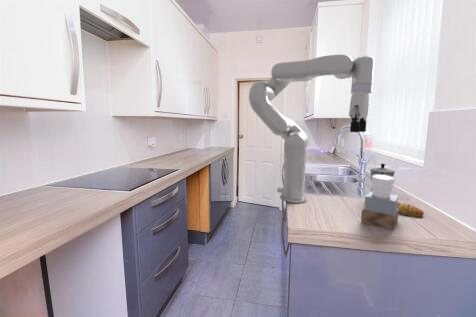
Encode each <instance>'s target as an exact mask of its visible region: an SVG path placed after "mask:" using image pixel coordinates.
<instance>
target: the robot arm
mask: <svg viewBox="0 0 476 317" xmlns="http://www.w3.org/2000/svg"><path fill="white" fill-rule="evenodd" d="M374 68H375V58H374V57H373V56H371V55H363V56H358V57H356V58H355V59H354V60H353V59H352V57H351V56H349V55H348V54H331V55H324V56H318V57H314V58H310V59H307V60H295V61H285V62H278V63H276V64H274V65H273V66H272V68H271V71H270V72H271V73H270V74H271V78H270V79H269V80H268V81H267V82H266V81H262V80H258V81H256V82H253V84H252V85H251V87H250V88H249V92H248V101H249V105H250V107H251V109H252V110H253V112H254V113H255V114H256V116H257V117H259V119H260V120H261V121H262V122H263V123H264V124H265V125H266V126H267V128H268V129H269V130H270V131H271V133H273V134H274V136H275V135H276V136H279V137H281V138H282V139H283V140H284V143H283V151H284V152H283V153H284V154H283V155H284V159H283V160H284V163H283V164H284V168H283V169H284V170H283V171H284V172H283V188H282V187H277V189H276V192H277V193H280V195H279V198H280V200H282V201H283V202H287V203H293V204H302V203H305V202H307V201H308V197H307V196H306V195H305V181H306V180H305V178H306V155H307V154H306V150H307V147H308V146H309V144H310V143H309V142H310V141H309V138H308V135H307V134H306V132H304V131H303V130H302V129H301V128H300V127H299V126H298V124H296V123H295V122H294V120H292V119H291V117H288V116H287V115H286V116H285V115H284V114H282V113H281V112H280V111H279V110H278V109H277V107H275V105H274V104H272V103H271V101H273V100H274V99H275V98H276V97H277V96H278V95H279V94H281V92H282V91H283V90H284V89H286V87H288V85H289V84H291V83H293V82H308V81H311V80H313V79H315V78H318V77H324V76H334V77H335V78H336V79H339V80H344V79H350V78H351V86H350V87H351V88H350V89H351V90H350V94H351V97H350V104H349V110H348V111H349V112H348V116H349V117H350V127H349V132H350V133H361V132H362V133H365V132H366V131H367V118H368V116H369V115H368V114H369V102H370V94H372V93H373V84H374V82H373V81H374V73H375V72H374V71H375V70H374Z"/></svg>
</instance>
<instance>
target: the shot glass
mask: <svg viewBox="0 0 476 317" xmlns="http://www.w3.org/2000/svg"><path fill="white" fill-rule="evenodd" d="M394 183H395V177H394V176H393V177H392V176H389V175H383V174H375V175H372V182H371V188H372V195H373V196H375V197H377V198H384V199H386V198H390V196H391V194H392V191H393V189H394V188H393V187H394Z"/></svg>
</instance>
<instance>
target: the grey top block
mask: <svg viewBox="0 0 476 317" xmlns="http://www.w3.org/2000/svg"><path fill="white" fill-rule="evenodd" d="M398 202H399V195H398V194H392V193H391V196H390V198H386V199H384V198H377V197H375V196H373V195H372V191H371V190H370V191H369V192H368V193H367V194H366V195H365V198H364V207H365V208H364V207H363V208H364V210H367V211H372V212H377V213H382V214H387V215H392V216H394V215H395V212H396V210H397V205H398Z"/></svg>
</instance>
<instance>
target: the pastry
mask: <svg viewBox="0 0 476 317" xmlns="http://www.w3.org/2000/svg"><path fill="white" fill-rule="evenodd" d="M397 208H398V209H399V212H398V215H399V214H401V215H404V216H409V217H413V218H417V217H419V218H422V217H423V216H424V214H425V212H424V211H423V210H422V209H420V208H418V207H416V206H413V205H410V203H408V204H406V203H405V202H403V203H401V202H399V201H398V205H397Z"/></svg>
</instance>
